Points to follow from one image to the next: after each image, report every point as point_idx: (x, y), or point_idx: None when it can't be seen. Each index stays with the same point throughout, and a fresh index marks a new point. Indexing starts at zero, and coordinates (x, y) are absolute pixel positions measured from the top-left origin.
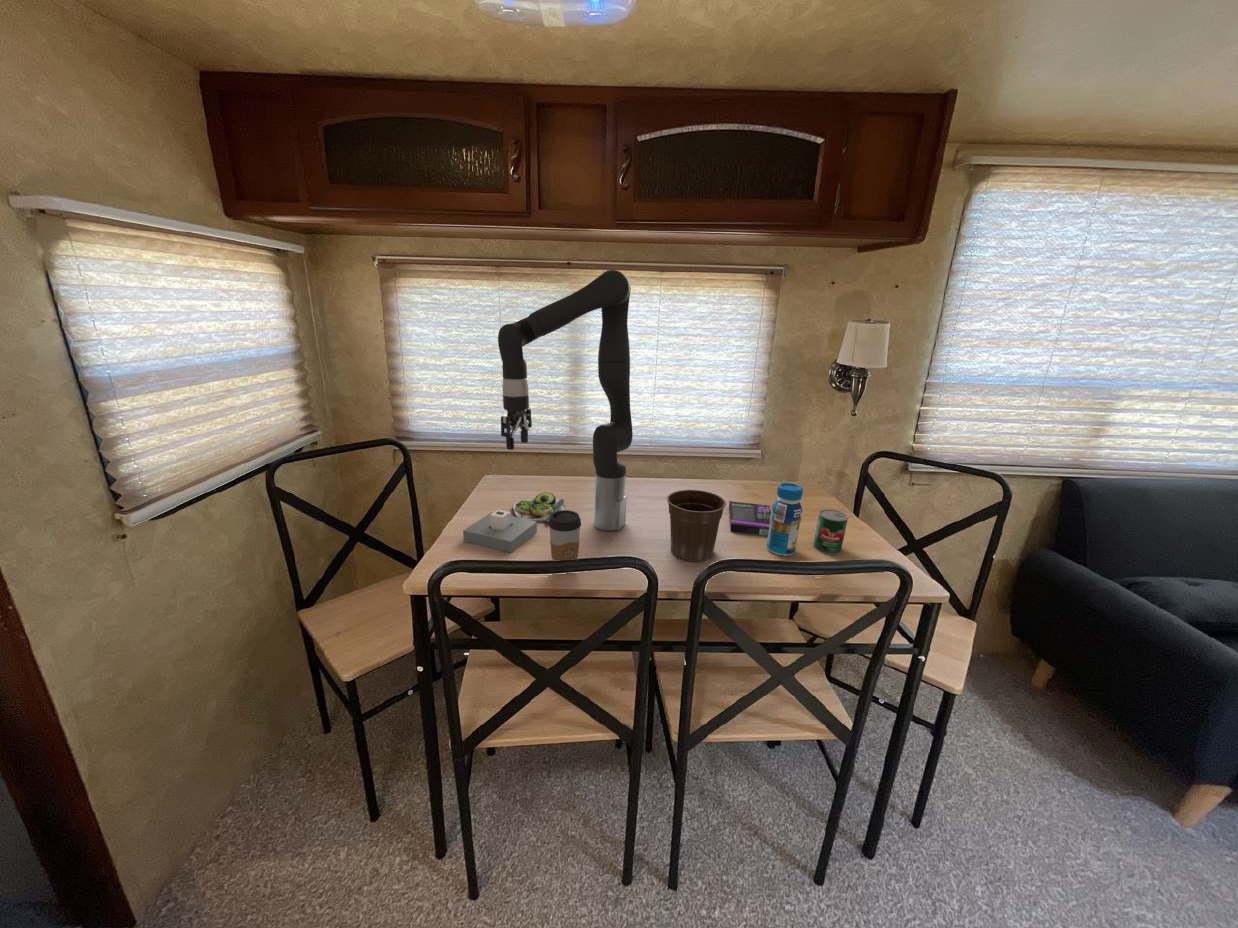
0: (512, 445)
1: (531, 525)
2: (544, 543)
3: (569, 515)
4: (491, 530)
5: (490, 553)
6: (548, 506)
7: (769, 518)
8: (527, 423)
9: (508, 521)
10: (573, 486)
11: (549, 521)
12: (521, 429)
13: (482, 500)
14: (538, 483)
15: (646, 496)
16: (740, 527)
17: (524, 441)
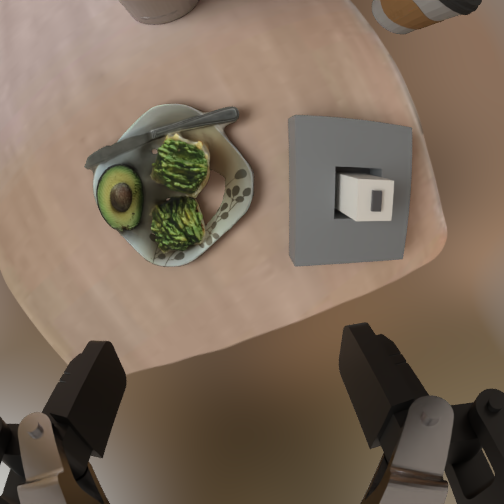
0: (379, 347)
1: (323, 116)
2: (331, 76)
3: None
4: None
5: (412, 168)
6: (171, 146)
7: None
8: (32, 497)
9: (355, 176)
10: (12, 207)
11: (474, 10)
12: (88, 463)
13: (193, 345)
14: (45, 290)
15: (5, 41)
16: None
17: (114, 363)
